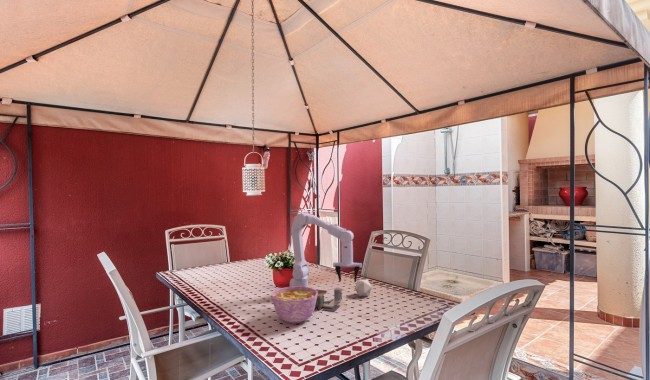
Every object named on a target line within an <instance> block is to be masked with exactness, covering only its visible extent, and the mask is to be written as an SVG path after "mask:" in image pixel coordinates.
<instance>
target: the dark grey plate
mask: <svg viewBox="0 0 650 380" xmlns="http://www.w3.org/2000/svg"><path fill="white" fill-rule="evenodd" d="M340 307H341V305H339V304H336V305H335V306H334V307H333V308H326V307H323V309H322V311H324V312H332V313H335V312H336V311H337V310H338V309H339V308H340Z"/></svg>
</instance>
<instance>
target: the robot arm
mask: <svg viewBox="0 0 650 380" xmlns="http://www.w3.org/2000/svg"><path fill="white" fill-rule="evenodd" d="M308 225H315V226H318V227H320V228H321V229H323V230H326V232H327V233H328V234H329V235H330V236H333V237H335V238H336V239H339V240H340V241H341V262H339V261H337V262H333V263H332V268H334V270H335V272H336V274H337V276H338V280H339V282H342V272H341V271H342V268H353V269H354V270H353V271H354V276H353V277H354V279H353V280H354V281H353V282H354V283H357V277H358V274H359V272H360V269H362V268H363V263H362V262H354V246H353V245H354V243H353V239H354V237H355V235H354V233H353V231H351V230H349V229H347V228H343V227H341V226H339V224H338V223H331V224H330V223H329V222H327V221H325V220H323V219H321V218H319V217H318V216H316V215H315V214H312V213H310V212H303V213H298V214H296V215H295V216H294V217H293V222H292V225H291V228H290V230H291V240H292V247H293V249H292V250H293V256H294V263H293V266H292V268H293V270H292V278H291V279H290V281H289V287H294V286H302V287H309V276H308V275H309V274H310V273H311V272H310V268H309V266H308V262H307V260H306V258H305V249H304V243H303V242H304V241H303V234H302V232H303V229H304V228H305V227H306V226H308Z"/></svg>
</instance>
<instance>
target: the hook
mask: <svg viewBox="0 0 650 380" xmlns="http://www.w3.org/2000/svg"><path fill="white" fill-rule="evenodd" d="M342 290H343V288H342V287H335V288H334V289H333V291H334V292H333V296H334V297H333V300H331V301H330V302H329V303H328V304H327V303H325V295H323V296H322V297H321V308H325V307H326V308H333V307H334V306H335V305H338V303H340V301H341V300H342V299H343V294H342V293H343V291H342ZM315 308H316V309H318V297H317V300H316V305H315Z"/></svg>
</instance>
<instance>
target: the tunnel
mask: <svg viewBox="0 0 650 380" xmlns="http://www.w3.org/2000/svg"><path fill="white" fill-rule="evenodd" d="M315 290H317V292H318V295H317V297H318V308H317V310H318V311H322V310H323V309H322V308H323V307H322V308H321V297H322V296H325V294H327V293H328V290H323V289H315Z"/></svg>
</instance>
